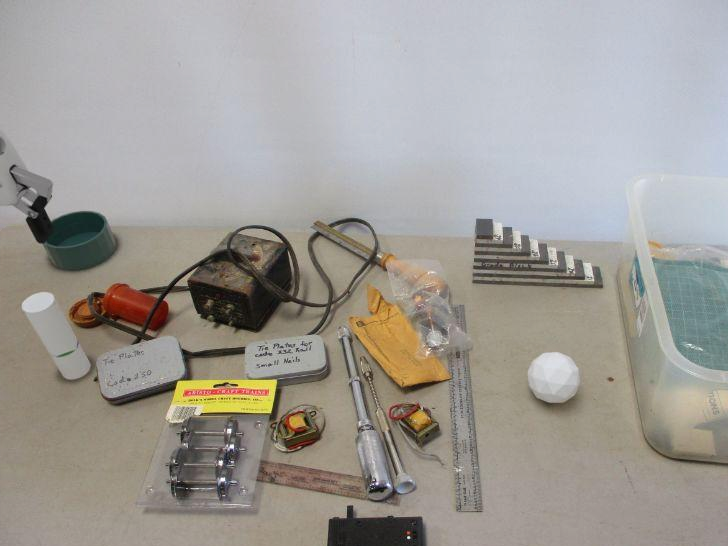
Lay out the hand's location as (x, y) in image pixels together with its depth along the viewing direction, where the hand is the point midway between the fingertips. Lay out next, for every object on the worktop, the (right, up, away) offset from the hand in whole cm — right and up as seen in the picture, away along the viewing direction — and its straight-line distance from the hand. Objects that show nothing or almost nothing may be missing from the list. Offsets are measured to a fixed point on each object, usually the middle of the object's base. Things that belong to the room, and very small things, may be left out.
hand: (10, 236), depth 77 cm
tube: (-1, -20, +18) cm, 27 cm away
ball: (+75, -23, +15) cm, 80 cm away
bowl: (-12, +1, +40) cm, 42 cm away
